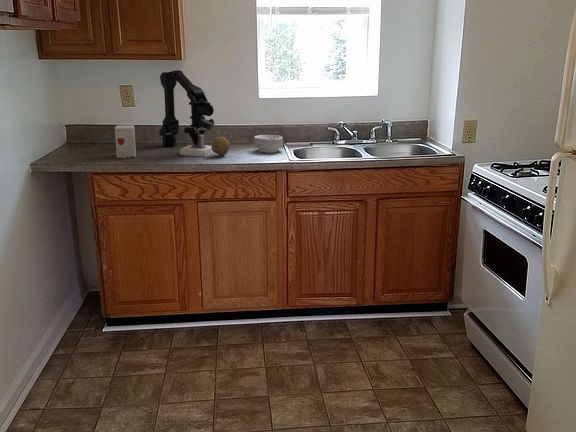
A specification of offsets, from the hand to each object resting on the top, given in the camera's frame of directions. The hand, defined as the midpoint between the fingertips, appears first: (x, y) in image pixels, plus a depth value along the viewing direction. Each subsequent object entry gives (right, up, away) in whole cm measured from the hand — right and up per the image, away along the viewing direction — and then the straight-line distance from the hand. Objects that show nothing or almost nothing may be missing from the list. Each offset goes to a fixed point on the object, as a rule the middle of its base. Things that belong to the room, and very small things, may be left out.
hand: (198, 144), depth 286 cm
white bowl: (+36, -3, +8) cm, 37 cm away
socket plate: (0, -4, +1) cm, 5 cm away
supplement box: (-35, -7, -8) cm, 36 cm away
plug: (0, -1, 0) cm, 1 cm away
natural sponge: (+12, -7, -6) cm, 15 cm away
